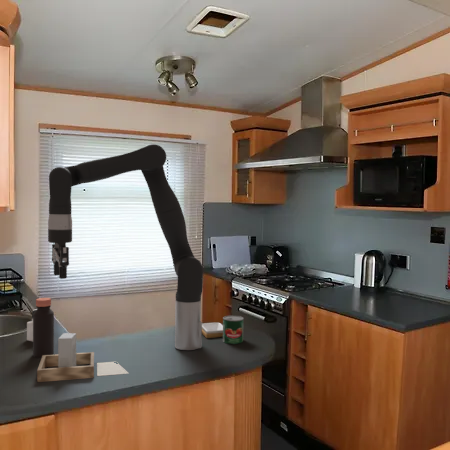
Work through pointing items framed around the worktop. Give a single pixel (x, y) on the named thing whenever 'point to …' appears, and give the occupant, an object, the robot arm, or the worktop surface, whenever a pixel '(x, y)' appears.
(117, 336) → the worktop surface
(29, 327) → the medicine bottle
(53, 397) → the worktop surface
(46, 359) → the wooden tray
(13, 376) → the worktop surface
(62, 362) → the skincare box
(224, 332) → the canned tomato
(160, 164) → the robot arm
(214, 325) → the soap dish
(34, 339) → the vinegar
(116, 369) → the mat
